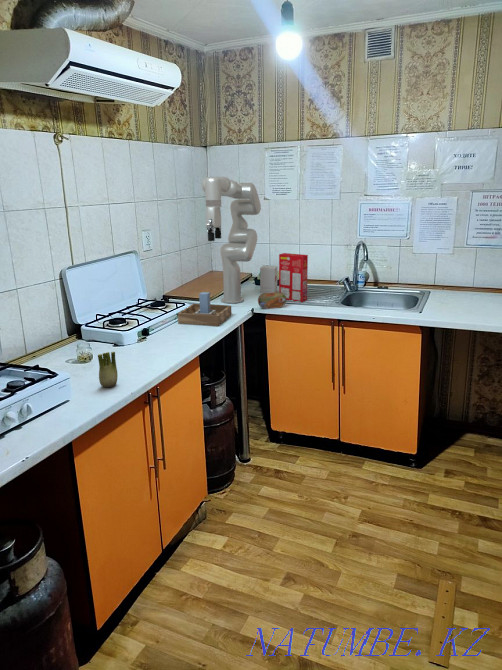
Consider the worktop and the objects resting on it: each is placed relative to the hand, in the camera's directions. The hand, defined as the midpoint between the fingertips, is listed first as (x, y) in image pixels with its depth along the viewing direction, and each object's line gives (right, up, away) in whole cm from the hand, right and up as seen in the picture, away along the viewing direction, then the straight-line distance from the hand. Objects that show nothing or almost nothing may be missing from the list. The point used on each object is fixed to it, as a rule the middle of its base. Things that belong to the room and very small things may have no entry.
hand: (214, 239), depth 256 cm
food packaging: (+41, -28, +31) cm, 59 cm away
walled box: (-4, -40, -5) cm, 40 cm away
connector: (-4, -39, -5) cm, 39 cm away
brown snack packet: (+29, -33, +15) cm, 46 cm away
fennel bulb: (-30, -65, -82) cm, 108 cm away
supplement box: (+29, -22, +52) cm, 63 cm away
